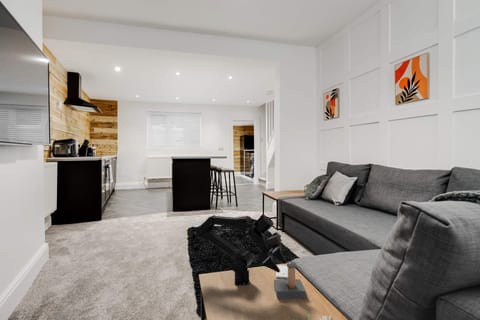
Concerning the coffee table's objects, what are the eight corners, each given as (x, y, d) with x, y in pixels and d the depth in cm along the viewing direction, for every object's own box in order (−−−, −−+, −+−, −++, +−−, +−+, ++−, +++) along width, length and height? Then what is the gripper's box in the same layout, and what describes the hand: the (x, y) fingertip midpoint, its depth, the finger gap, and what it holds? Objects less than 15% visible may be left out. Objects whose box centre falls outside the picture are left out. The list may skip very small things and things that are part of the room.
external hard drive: (292, 269, 129) (293, 280, 117) (276, 268, 131) (276, 279, 118) (292, 266, 129) (293, 277, 117) (276, 265, 131) (275, 276, 118)
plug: (288, 295, 103) (287, 265, 103) (286, 291, 106) (286, 261, 106) (297, 295, 103) (296, 265, 103) (295, 290, 106) (294, 261, 106)
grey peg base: (277, 298, 101) (276, 291, 101) (274, 286, 111) (273, 279, 111) (305, 298, 101) (305, 291, 101) (300, 285, 111) (300, 279, 111)
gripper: (262, 234, 101) (289, 265, 96) (276, 223, 117) (300, 249, 112) (246, 250, 104) (270, 281, 99) (262, 237, 121) (284, 263, 116)
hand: (282, 267), depth 106 cm, fingers open, 9 cm apart
